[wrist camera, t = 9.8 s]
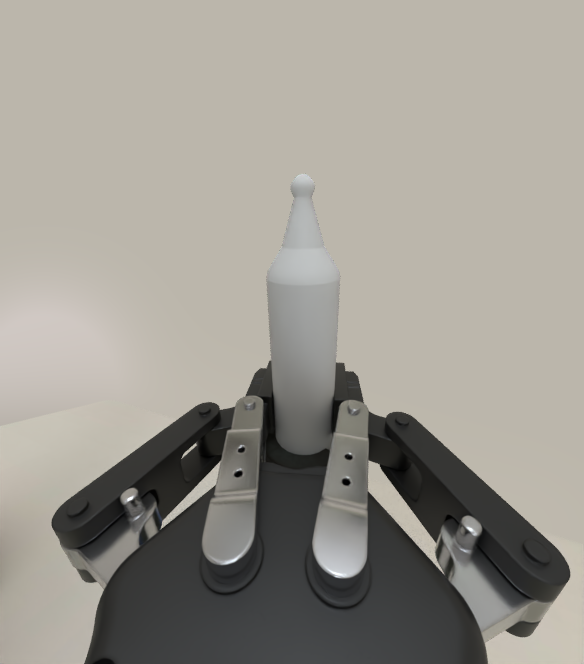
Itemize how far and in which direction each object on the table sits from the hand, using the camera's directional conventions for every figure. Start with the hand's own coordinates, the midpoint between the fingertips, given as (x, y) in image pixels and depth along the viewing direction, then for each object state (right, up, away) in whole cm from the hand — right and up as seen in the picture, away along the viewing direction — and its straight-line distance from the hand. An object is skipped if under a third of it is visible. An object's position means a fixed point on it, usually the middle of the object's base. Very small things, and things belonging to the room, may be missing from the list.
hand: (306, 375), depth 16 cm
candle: (0, -15, +3) cm, 15 cm away
